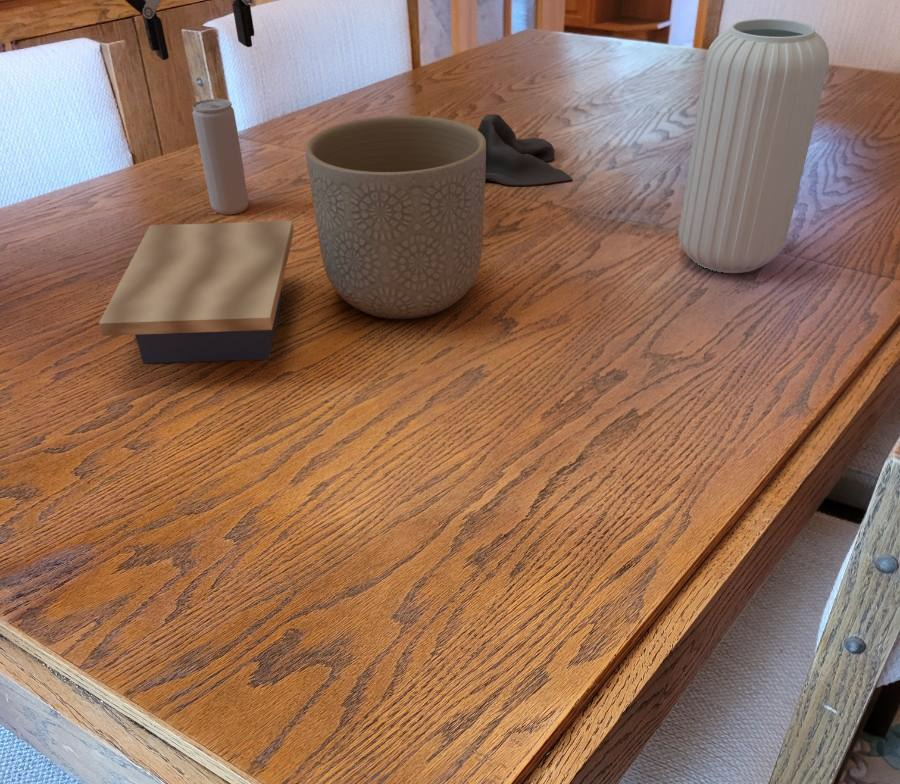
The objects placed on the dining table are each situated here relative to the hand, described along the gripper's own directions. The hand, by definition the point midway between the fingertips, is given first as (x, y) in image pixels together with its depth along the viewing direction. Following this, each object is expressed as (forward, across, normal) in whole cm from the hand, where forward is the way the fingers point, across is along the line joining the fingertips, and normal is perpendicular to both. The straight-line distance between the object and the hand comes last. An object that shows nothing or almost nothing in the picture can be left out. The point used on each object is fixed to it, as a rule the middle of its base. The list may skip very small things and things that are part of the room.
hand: (204, 50), depth 102 cm
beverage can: (+18, 0, 0) cm, 18 cm away
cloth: (+18, -37, +3) cm, 41 cm away
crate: (+17, +11, +30) cm, 37 cm away
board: (+12, +11, +30) cm, 35 cm away
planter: (+18, -8, +34) cm, 39 cm away
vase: (+18, -44, +43) cm, 64 cm away
